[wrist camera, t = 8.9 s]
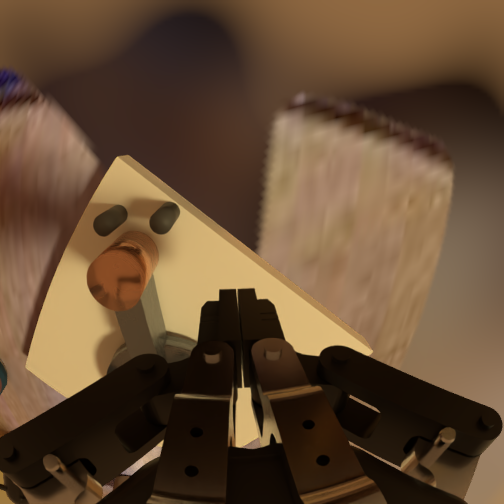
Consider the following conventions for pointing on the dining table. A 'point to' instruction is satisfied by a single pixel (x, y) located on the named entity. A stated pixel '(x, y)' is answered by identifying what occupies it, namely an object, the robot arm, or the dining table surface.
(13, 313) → the dining table surface
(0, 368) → the soda can
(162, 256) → the base board
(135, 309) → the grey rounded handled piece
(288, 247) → the dining table surface
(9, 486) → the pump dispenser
